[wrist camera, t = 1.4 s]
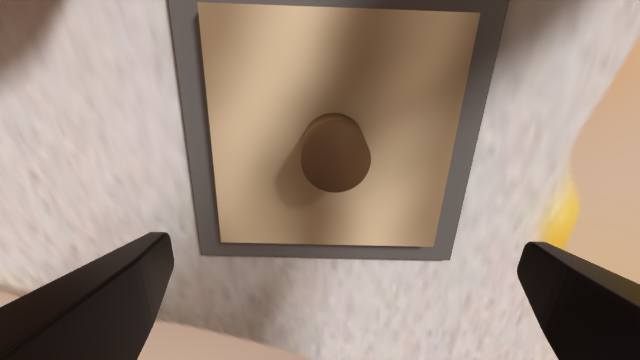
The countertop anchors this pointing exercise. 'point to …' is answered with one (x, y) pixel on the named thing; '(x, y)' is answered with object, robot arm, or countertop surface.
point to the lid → (333, 120)
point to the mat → (196, 120)
